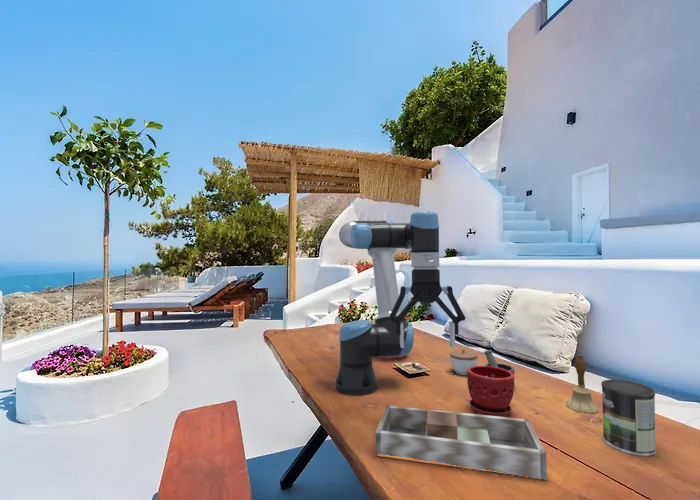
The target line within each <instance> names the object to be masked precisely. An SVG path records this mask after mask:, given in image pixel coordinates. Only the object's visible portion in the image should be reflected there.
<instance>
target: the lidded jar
mask: <svg viewBox="0 0 700 500" xmlns="http://www.w3.org/2000/svg"><path fill="white" fill-rule="evenodd" d="M478 357H479V354H478V353H477V352H475V351H472V350H466V349H464V348H462V349H455V350H451V351H450V352H449V359H450V362H449V363H450V365H451V367H452V369H453V370H454V372H455V373H456V374H458V375H459V376H467V372H468V368H470V367H473V366H478V364H479V363H478V362H479V361H478V359H479V358H478Z"/></svg>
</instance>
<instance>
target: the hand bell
mask: <svg viewBox="0 0 700 500" xmlns="http://www.w3.org/2000/svg"><path fill="white" fill-rule="evenodd" d="M574 362H575V366H574V367H575V371H576V373H577V386H575V387H573V388H572V393H571V398H570V399H569V400H568V401H566V403H565V404H566V405H565V406H566V407H568V408H569V409H570V410H572V411H575V412H578V413H584V414H597V413H599V412H600V411H599V407H598V406H597V405H596V404H595V403H594V401H593V398H592V393H591V391H590V389H588V388H586V385H585V384H586V383H585V373H586V362H585V359H584V356H583V354H577V356H576V359H575V361H574Z"/></svg>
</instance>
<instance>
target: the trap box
mask: <svg viewBox="0 0 700 500" xmlns="http://www.w3.org/2000/svg"><path fill="white" fill-rule="evenodd" d="M428 411H437V412H446V413H456V416H457V437H458V440H456V439H447V438H439V437H431V436H427V425H426V423H427V414H428ZM376 453H377V454H382V455H390V456H399V457H407V458H413V459H418V460H423V461H430V462H438V463H446V464H450V465H456V466H461V467H468V468H473V469H485V470H491V471H497V472H504V473H510V474H516V475H522V476H528V477H535V478H539V479H538V480H542V479H547V480H548V463H547V459H548V457H547V452H546V450H545V447H544V446H543V444H542V442H541V440H540V438H539V436H538V435H537V432H536V430H535V429H534V427H533V425H532V423H531V420H530V419H526V418H519V417H518V418H516V417H508V416H504V417H498V416H488V415H481V414H479V413H477V414H476V413H475V414H474V413H466V412H458V411H457V412H455V411H448V410H438V409H437V410H436V409H428V408H427V409H424V408H417V407H406V406H398V405H385V408H384V410H383V413H382V416H381V418H380V420H379V423H378V426H377V428H376V430H375V454H376ZM528 477H527V478H528ZM535 478H534V479H535Z"/></svg>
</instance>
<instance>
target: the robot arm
mask: <svg viewBox="0 0 700 500" xmlns="http://www.w3.org/2000/svg"><path fill="white" fill-rule="evenodd" d="M409 220H410V221H409V223H406V222H404V223H402V222H400V223H398V222H396V223H395V222H394V221H391V220H384V219H383V220H354V221H350V222H347V223H345V224H344V225H342V226H341V227H340V230H339V233H338V236H339V237H338V238H339V241H340V242H341V244H342V245H343V246H345V247H348V248H352V249H355V250H367V255H368V256H370V257H371V259H372V267H373V268H372V269H373V277H374V288H375V296H376V304H377V305H376V306H377V314H378V315H377V317H376V318H375V319H374V323H372V321H371V320H369V319H359V320H353V321H348V322H346V323H343V324H342V325H341V327H340V329H339V337H338V339H339V369H338V371H337V374H336V375H337V376H336V378H335V382H334V383H335V384H334V385H335V390H336V391H337V392H338V393H340V394H343V395H349V396H364V395H369V394H373V393H375V392H376V391H377V390H378V384H379V383H378V379H377V375H376V373H375V370H374V369H375V368H374V367H373V358H382V357H383V358H385V357H386V356H400V355H404V356H407V355H409V354H410V353H411V351H412V349H413V346H414V342H415V341H414V339H415V338H414V337H415V332H414V327H413V325H412V323H411V322H409V321H408V322H407V317H406V316H408V314H409V312H410V311H411V310H412V309H413V308H414V307H415V306H416V304H418V303H419V304H425V303H428V304H433V303H435V302H436V303H435V304H437V305H438V306H439V307H440V309H442V311H443V312H444V313H445V314H446V315H447V316H448V317H449V318H450V320H452V321H449V322H448V323H449V324H448V325H449V328H448V329H449V346H450V347H451V348H452V349H455V348H456V335H459V332H460V331H459V323H460V322H462V321H465V320H466V316H465V314H464V312H463V310H462V309H461V306H460V305H459V302H458V301H457V299H456V297H455V295H454V292H453V287H452V286H451V285H446V286H441V277H440V276H441V274H440V273H441V271H440V269H438V268H439V267H440V266H441V265H440V229H439V228H440V223H439V215H438V213H437V212H435V211H427V210H426V211H425V210H423V211H416V212H413V213H412V212H411V214H410V219H409ZM397 249H406V250H410V255H411V259H410V260H411V261H410V263H411V267H412V268H413V269H412V270H411V286H410V287H408V286H403V285H401V286H400V291H399V287H398V281H397V273H396V265H395V259H394V255H395V253H396V252H397ZM409 292H410V293H411V294H412V297H411V299H410V300H409V302H408V303H407V304H406V305H405V307H404V308H403V309H401V305H402V303H403V301H404V299H405V297H406V295H408V294H409ZM442 292H443V293H444V295H446V296H447V298H448V300H449V302H450V305H452V307H453V310H454V312H455V313H456V315H457V316H455V314H454V313H453V312H452V310H451V309H450V308H449V307H448V306H447V305H446V304H445V302H444V301H443V299H441V298H440V297H439V296H440V295H441V293H442Z"/></svg>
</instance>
